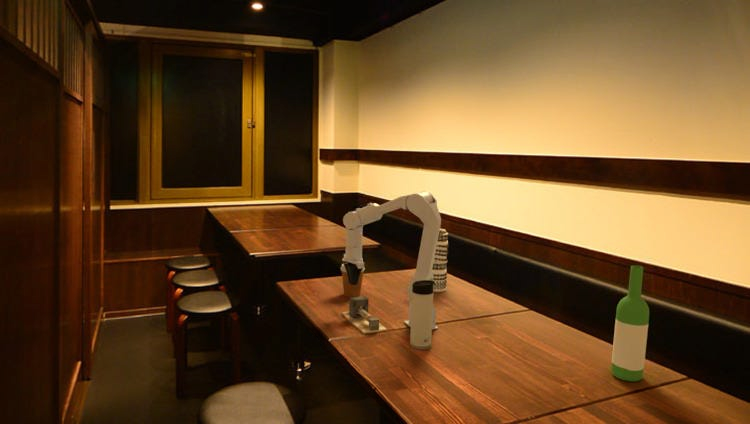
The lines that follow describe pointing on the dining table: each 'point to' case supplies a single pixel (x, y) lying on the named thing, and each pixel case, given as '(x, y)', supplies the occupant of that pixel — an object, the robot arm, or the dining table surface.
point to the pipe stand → (364, 321)
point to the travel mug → (421, 314)
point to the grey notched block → (358, 305)
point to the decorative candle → (440, 262)
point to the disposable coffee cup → (348, 288)
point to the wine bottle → (631, 331)
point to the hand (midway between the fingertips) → (353, 284)
